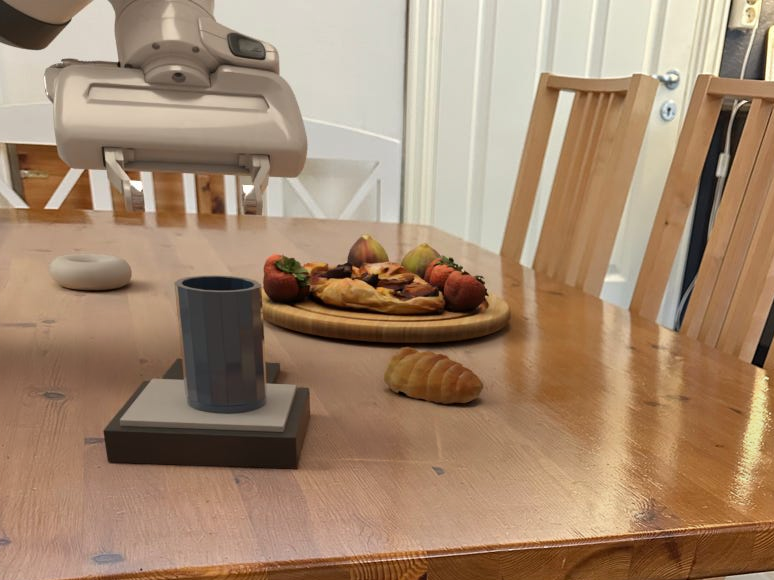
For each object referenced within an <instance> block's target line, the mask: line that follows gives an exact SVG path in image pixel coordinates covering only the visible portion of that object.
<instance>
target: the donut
mask: <svg viewBox="0 0 774 580" xmlns="http://www.w3.org/2000/svg"><path fill="white" fill-rule="evenodd" d="M132 272H133V271H132V267H131V266H130V263H128V262H127V261H126V260H125V259H123V258H122V257H120V256H116V255H111V254H107V253H105V254H104V253H69V254H64V255H59V256H57V257H56V258H53V260H52V262H51V263H50V265H49V274H50V275H49V276H50V277H51V278H52V280H53V281H54V282H55V283H56V284H58V285H59V286H61V287H63V288H66V289H71V290H77V291H79V290H81V291H106V290H107V291H108V290H115V289H119V288H122V287H125V286H126V285H128V284H129V283H130V281H131V279H132V274H133V273H132Z"/></svg>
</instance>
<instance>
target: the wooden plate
mask: <svg viewBox="0 0 774 580" xmlns="http://www.w3.org/2000/svg"><path fill="white" fill-rule="evenodd" d="M463 269H464V266H462V265H459V264H458V263H455V260H454V258H453V257H451V256H448V257H447V256H446V255H444V254H443V255H441V254H440V253H439V252H438V251H437V250H436V249H434V248H432V247H431V246H430V245H429V244H428V243H426V242H423V243H421V244H419V245H418V246H416V247H414V248H413V249H411V250H410V251H408V252H407V253H406V254H405V255H404V257H403V258H402V261H401V262H400V264H399V263H396V262H394V261H390V259H389V255H388V253H387V252H386V249H385V248H384V246H383V245H382V244H381V243H380V242H379V241H377V240H376V239H374V238H373V237H371V236H370V234H366V235H361V236H360V237H359V238H358V239H357V240H356V241H355V242H354V243H353V244H352V246H351V247H350V249H349V252H348V254H347V260H346V262H344V263H341V264H338V265H332V266H329V263H326V262H316V261H314V262H307V263H304V265H301V262H300V261H298V260H297V259H296V258H295V257H288V256H285V255H284V254H283V253H282V254H277V253H275V254H272V255H270V256H268V257H267V259H266V260H265V262H264V265H263V277H262V278H263V279H262V286H261V289H262V308H263V320H265V321H267V322H268V323H271V324H274V325H276V326H279V327H281V328H284V329H288V330H292V331H297V332H299V333H304V334H308V335H314V336H320V337H325V338H326V337H327V338H333V339H342V340H351V341H362V342H374V343H397V344H406V343H407V344H416V343H417V344H424V343H444V342H446V343H447V342H453V341H454V342H455V341H462V340H469V339H470V340H471V339H474V338H480V337H484V336H487V335H488V336H489V335H491V334H494V333H496V332H498V331H500V330H502V329H503V328H504V327H505V326H507V325H508V323H509V322H510V320H511V317H512V312H511V308H510V306H509V304H508V303H507V302H506V301H505V300H504V299H503V298H501V297H499V296H498V295H496V294H493V293H491V292H489V291H488V288H486V285H485V284H486V281H484V280H485V277H484V276H483V275H477V274H476V275H472V274H471V273H470V272H468V271H466V270H463ZM462 270H463V271H462Z"/></svg>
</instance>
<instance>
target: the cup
mask: <svg viewBox="0 0 774 580" xmlns="http://www.w3.org/2000/svg"><path fill="white" fill-rule="evenodd" d="M261 287H262V284H261V283H260V282H259V281H258V280H255V279H252V278H246V277H240V276H233V275H218V274H217V275H215V274H214V275H195V276H186V277H183V278H179V279H176V281H174V293H175V295H174V296H175V303H176V314H177V324H178V333H179V334H178V335H179V344H180V354H181V359H182V365H183V376H184V386H185V395H186V399H187V404H188V405H189V406H190V407H192V408H194V409H197V410H200V411H204V412H210V413H223V414H230V413H243V412H249V411H253V410H256V409H259V408H261V407H263V406H264V405H265V404H266V403H267V395H266V394H267V383H266V364H265V362H266V349H265V348H266V347H265V330H264V329H265V328H264V318H263V308H262V289H261Z"/></svg>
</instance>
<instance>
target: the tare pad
mask: <svg viewBox="0 0 774 580" xmlns="http://www.w3.org/2000/svg"><path fill="white" fill-rule="evenodd" d="M265 364H266V383H267V384H277V381H278V378H279V376H280V373H281V363H280V362H268V361H267V362H266V361H265ZM161 379H173V380H184V376H183V365H182V358H178V357H177V358H176V359H175V361H174V362H173V363H172V364H171V366H170V367H169V368H168V369H167V371H166V372H165V374H164V375H163V376H162V377H161Z"/></svg>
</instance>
